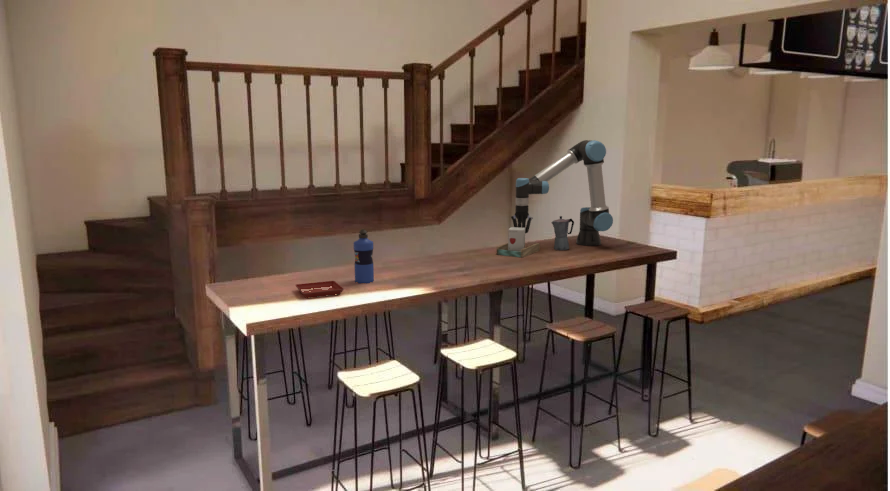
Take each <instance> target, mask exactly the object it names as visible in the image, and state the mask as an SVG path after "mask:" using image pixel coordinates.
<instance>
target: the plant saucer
mask: <svg viewBox="0 0 890 491" xmlns="http://www.w3.org/2000/svg"><path fill="white" fill-rule="evenodd" d="M330 286H332V288H329V289H328V290H322V289H314V288H321V287H330ZM295 287H296V288H297V290H298V291H299V292H300V293H301V294H302V295H303V296H304V298H306V297H307V298H306V299H309V298H308V297H316V298H318V297H317V296H325V297H327V296H326V295H334V296H336V295H335V294H339V295H340V294H341V293H342V292H343V291H344V289H345V288H344V287H343V286H341V285H340V284H339V283H338V282H336V280H329V281H328V280H326V281H316V282H307V283H298V284H295ZM311 288H313V290H309V291H311V292H309V291H304V292H302V291H301V289H311Z"/></svg>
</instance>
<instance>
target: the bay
mask: <svg viewBox="0 0 890 491" xmlns="http://www.w3.org/2000/svg"><path fill="white" fill-rule="evenodd" d="M540 243H541V242H537V243H534V244H532V245H528V246H527V247H526V246H525V248H523V249H521V252H518V251H509V250H508V242H506V243H504V244H502V245H498V246H496V255H497V256H504V257H505V256H507V257H515V258H525V257H528V256H529V255H532V254H534V253H537V252H540V249H541V248H540V247H541V246H540V245H541V244H540Z"/></svg>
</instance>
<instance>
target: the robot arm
mask: <svg viewBox="0 0 890 491" xmlns="http://www.w3.org/2000/svg"><path fill="white" fill-rule="evenodd" d="M606 154H607V148H606V146H605V145H604V144H603V142H601V141H598V140H596V139H594V140H591V139H589V140H588V139H587V140H586V139H585V140H581V141H580V142H579V141H578V143H577V144H575V145H573V146H572V147H570V148H569V149H568V150H567V151H566V153H564V154H563V155H561V156H560V157H559V158H558V159H556V160H554V161H553V162H552V163H550V164H549V165H547V166H546V167H545V168H543V169H541V170H540V171H539V172H537V173H536V174H535V175H533V176H532V177H530V178H526V177H518V178H517V179H516V180H515V207H514V208H515V212H514V214H513V215H511V216H510V217H511V220H512V224H513V227H521V228H525V234H528V233H529V230H530V225H531V223H532V220H533V219H534V218H533V217H532V216H530V214H529V203H530V202H529V199H530V198H529V196H530V195H547V194H548V193H549V190H550V184H549V181H550V180H552V179H553V178H555V177H556V176H558V175H560V174H561V173H562V172H564V170H566V169H568V168H569V167H571V166H572V165H574V164H575V165H576V164H578V163H579V162H583V165H584V166H585V167H586V171H587V172H586V174H587V180H588V181H587V183H588V191H589V201H590V207H588V206H587V207H581V208H580V209H579V210H580V212H579V230H578V234H577V237H576V242H575V243H576V244H577V245H579V246H588V247H589V246H591V247H592V246H600V245H602V239H601V236H600V232H606V231H608V230H609V229H610V228H612V226H613V224H614V218H613V216H612V215H611V213H610V210H609V206H608V205H607V204H606V196H605V187H604V176H603V168H602V165H603V164H604V163H605V161H604V160H605V157H606Z"/></svg>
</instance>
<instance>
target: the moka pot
mask: <svg viewBox="0 0 890 491" xmlns="http://www.w3.org/2000/svg"><path fill="white" fill-rule="evenodd" d="M569 223H571V227H570V231H569ZM551 224H552V226H553V230H554V245H553V249H554V250H555V251H567V250H569V249H570V244H569V237H568V235H572V232H573V228H574V225H575V221H574V220H573V219H572V218H569V219H564V218H563V216H562V215H560V216H559V218H558V219H554V220H553V221H551Z"/></svg>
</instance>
